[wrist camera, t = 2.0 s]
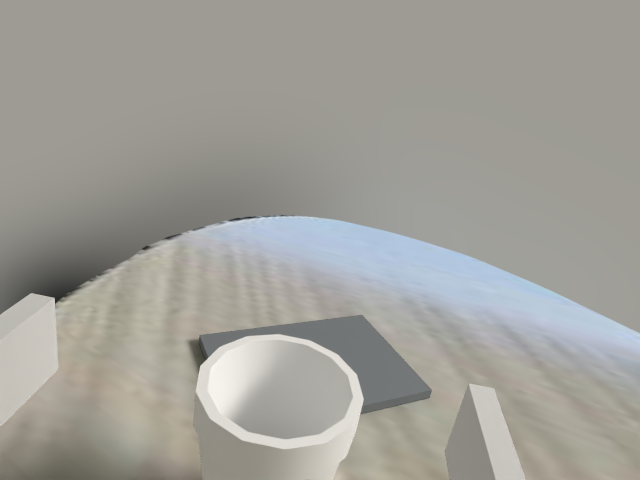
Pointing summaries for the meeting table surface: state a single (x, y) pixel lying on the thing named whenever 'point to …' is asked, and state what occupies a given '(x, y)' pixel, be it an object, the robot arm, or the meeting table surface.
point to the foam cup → (275, 410)
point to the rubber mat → (347, 357)
